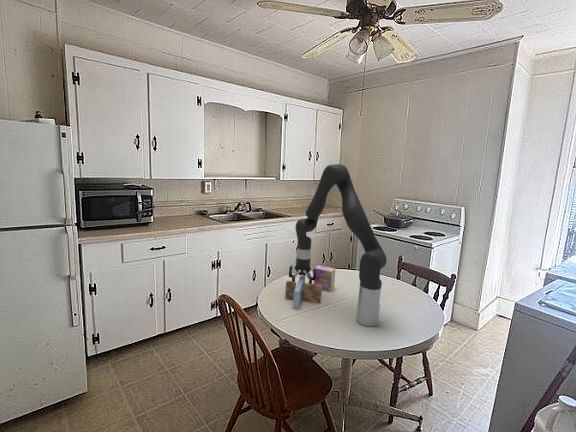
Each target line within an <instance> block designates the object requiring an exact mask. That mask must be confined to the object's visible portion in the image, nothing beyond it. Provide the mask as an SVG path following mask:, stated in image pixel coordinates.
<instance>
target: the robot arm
mask: <svg viewBox="0 0 576 432" xmlns="http://www.w3.org/2000/svg"><path fill="white" fill-rule="evenodd" d="M321 174H322V175H321V176H320V180H319V183H318V185H317V188H316V190H315V193H314V195H313V197H312V199H311V201H310V203H309V205H308V207H307V208H306V210H305V215H306V218H301V219H300V218H299V219H298V220H297V221H296V223H295V234H296V238H297V249H296V256H295V266H294V265H293V264H290V265H289V269H288V277H289V278H291V281H294V282H296V277H297V276H298V275H299V276H305V277H307V279H308V283H310V284H313V281H314V280H315V278H316V268H315V267H313V268H312V267H311V259H312V238H311V237H309V235H308V236H307V233H311V232H313V231H314V230H315V229H316V227H317V226H318V225H317V224H318V220H319V217H320V215H321V214H322V212H323V211H324V209H325V206H326V203H327V197H328V195H329V192H330V191H331V189H333V187H334V186H335V185H336V187H337V188H338V190H339V193H340V196H341V211H342V216H343V218H344V221H345V222H346V225H347V226H348V229H349V230H350V231H351V232H352V233H353V234H354V235H355V236H356V238H357V239H358V240H359V241H360V243H361V245H362V248H363V250H364V253H363V254H362V255H361V257H360V260H359V271H358V273H359V274H358V278H359V289H358V301H357V306H356V307H357V308H356V322H357V323H358V324H360V325H362V326H365V327H378V323H379V317H380V316H379V315H380V308H381V306H380V305H381V304H380V300H381V292H382V284H383V283H382V280H381V278H380V277H381V270H382V269H383V268H385V266H386V264H387V261H388V260H387V256H386V253H385V251H384V250H383V248H382V247H381V244H380V243H379V241H378V239H377V237H376V236H375V233H374V230H373V228H372V226H371V224H370V222H369V220H368V216H367V214H366V212H365V210H364V208H363V205H362V204H361V202H360V199H359V196H358V194H357V192H356V190H355V187H354V184H353V182H352V178H351V176H350V172H349V169H348V168H347V167H346V165H343V164H342V163H341V164H340V163H339V164H338V163H335V164H329V165H327V166H326V167H325V168H324V169H323V171H322V173H321ZM293 270H295V273H293ZM310 272H312V275H311V273H310Z"/></svg>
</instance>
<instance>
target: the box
mask: <svg viewBox="0 0 576 432" xmlns="http://www.w3.org/2000/svg"><path fill="white" fill-rule="evenodd" d="M314 268H316V278H315V280H313V284H318V285H322V291H326V292H330V293H332V291H333V290H334V289H335V281H336V280H335V279H336V278H335V277H336V268H334V267H333V268H332V267H327V266H324V265H319V264H317V265H316V266H315V267H314Z"/></svg>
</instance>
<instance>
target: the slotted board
mask: <svg viewBox="0 0 576 432" xmlns="http://www.w3.org/2000/svg"><path fill="white" fill-rule="evenodd" d="M296 285H297V282H296V281H295V282H294V281H292V280H286V281H285V299H286V300H293V301H294V290H295V288H296ZM322 291H323V290H322V285H318V284H314V283H312V284H310V283H309V282H305V284H304V291H302V293H301V302H307V303H315V304H321V302H322ZM285 299H284V300H285Z"/></svg>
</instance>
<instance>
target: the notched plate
mask: <svg viewBox="0 0 576 432" xmlns="http://www.w3.org/2000/svg"><path fill="white" fill-rule="evenodd" d="M299 276H300V277H299V278H298V280H297V282H296V288H295V290H294V300H293V301H292V302H293V304H292V309H295V310H299V308H300V305H301V302H302V301H301V293H302V291H304V284H305V283H306V275H305V276H303V275H299Z"/></svg>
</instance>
